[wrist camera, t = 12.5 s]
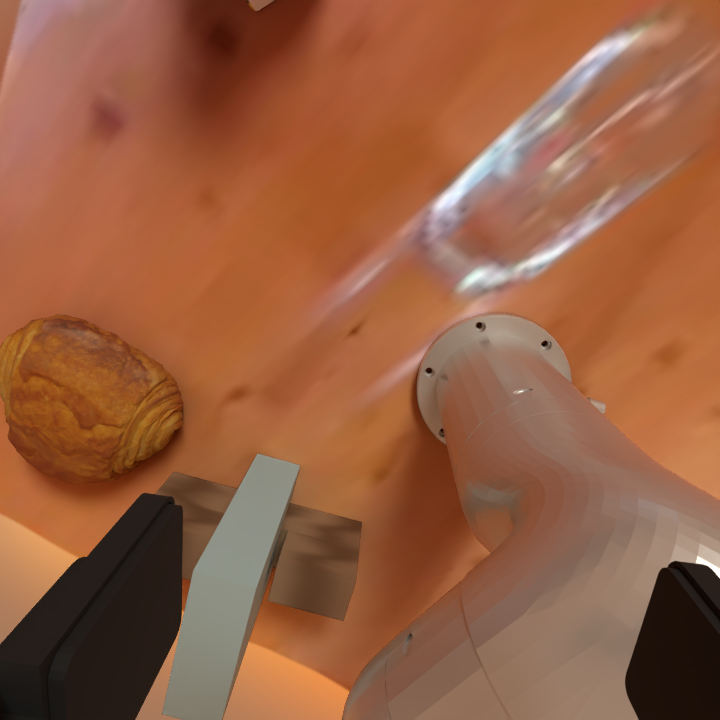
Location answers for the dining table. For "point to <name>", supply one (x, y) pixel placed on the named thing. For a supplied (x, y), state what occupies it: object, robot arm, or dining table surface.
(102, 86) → the dining table surface
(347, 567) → the mottled brown block
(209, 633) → the plain rectangular block
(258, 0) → the medicine bottle
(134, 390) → the croissant
